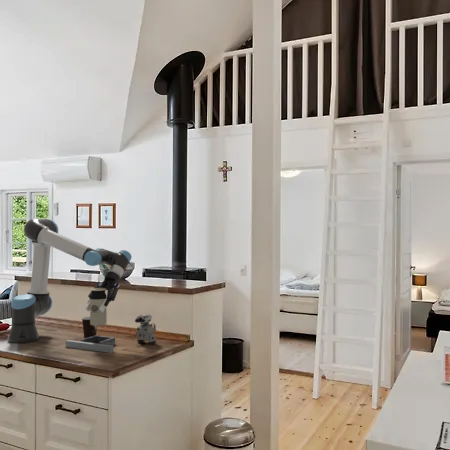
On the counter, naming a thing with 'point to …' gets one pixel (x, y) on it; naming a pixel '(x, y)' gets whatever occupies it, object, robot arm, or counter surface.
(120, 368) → the counter surface
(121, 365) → the counter surface
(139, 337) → the figurine
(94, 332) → the coffee mug
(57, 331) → the counter surface
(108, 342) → the grey square frame
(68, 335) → the counter surface
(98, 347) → the rail
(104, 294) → the travel mug
